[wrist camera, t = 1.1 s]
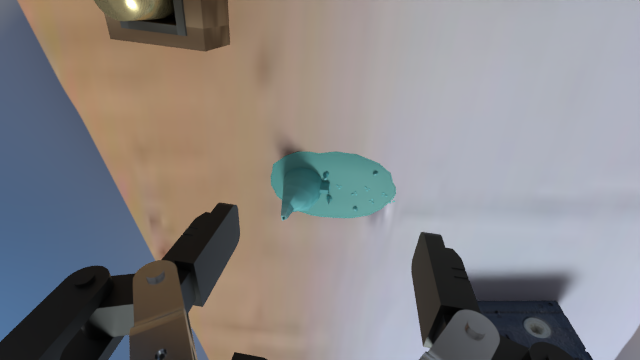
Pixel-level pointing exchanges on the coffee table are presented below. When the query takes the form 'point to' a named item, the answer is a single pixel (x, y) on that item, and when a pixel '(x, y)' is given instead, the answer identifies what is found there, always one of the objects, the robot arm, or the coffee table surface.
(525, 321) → the vhs cassette tape
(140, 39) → the walnut block
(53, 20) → the coffee table surface
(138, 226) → the coffee table surface
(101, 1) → the brass peg
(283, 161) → the diorama
